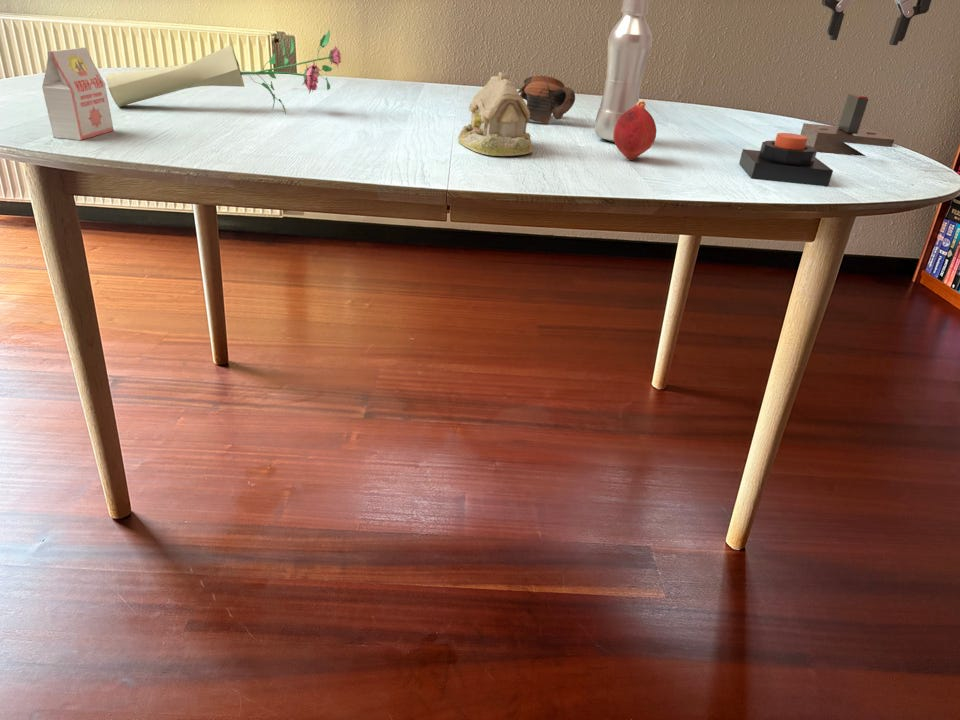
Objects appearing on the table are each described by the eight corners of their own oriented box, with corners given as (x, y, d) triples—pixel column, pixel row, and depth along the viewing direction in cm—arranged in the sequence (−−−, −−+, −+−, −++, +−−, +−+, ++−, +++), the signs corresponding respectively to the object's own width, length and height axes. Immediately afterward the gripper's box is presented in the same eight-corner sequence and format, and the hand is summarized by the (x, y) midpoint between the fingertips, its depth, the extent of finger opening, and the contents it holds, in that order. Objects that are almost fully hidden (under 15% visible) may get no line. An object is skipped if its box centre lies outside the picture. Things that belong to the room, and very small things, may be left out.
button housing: (809, 171, 99) (818, 143, 97) (828, 187, 91) (837, 156, 89) (738, 164, 100) (745, 136, 98) (751, 179, 92) (759, 148, 90)
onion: (628, 166, 94) (639, 104, 90) (601, 156, 98) (610, 97, 94) (659, 163, 97) (670, 103, 93) (631, 154, 101) (640, 96, 97)
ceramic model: (450, 135, 104) (453, 64, 99) (520, 137, 106) (526, 67, 102) (472, 157, 92) (477, 77, 87) (550, 158, 95) (560, 81, 90)
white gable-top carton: (53, 137, 86) (33, 50, 81) (87, 127, 92) (71, 46, 87) (80, 140, 85) (62, 52, 80) (113, 130, 91) (98, 48, 86)
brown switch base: (868, 147, 120) (874, 128, 118) (888, 158, 112) (895, 138, 110) (798, 140, 121) (803, 122, 119) (812, 151, 113) (818, 131, 111)
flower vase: (142, 151, 112) (350, 107, 118) (121, 144, 101) (353, 95, 106) (117, 76, 109) (331, 34, 115) (92, 60, 98) (332, 14, 103)
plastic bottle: (599, 134, 113) (619, -2, 103) (639, 141, 110) (664, 1, 100) (587, 140, 107) (607, -3, 98) (629, 147, 105) (653, 1, 95)
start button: (800, 147, 95) (803, 134, 94) (807, 153, 92) (811, 139, 91) (770, 144, 95) (774, 131, 95) (777, 150, 92) (780, 137, 91)
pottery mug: (501, 121, 120) (509, 75, 120) (531, 141, 128) (539, 98, 128) (558, 113, 113) (566, 64, 113) (587, 135, 120) (595, 89, 120)
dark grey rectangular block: (837, 127, 117) (848, 92, 114) (847, 128, 117) (858, 93, 114) (847, 133, 113) (859, 96, 110) (857, 133, 113) (869, 97, 110)
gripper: (948, -79, 98) (906, 45, 106) (842, -84, 101) (809, 37, 109) (966, -84, 92) (920, 48, 99) (853, -90, 94) (817, 39, 102)
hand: (862, 42), depth 104 cm, fingers open, 8 cm apart
